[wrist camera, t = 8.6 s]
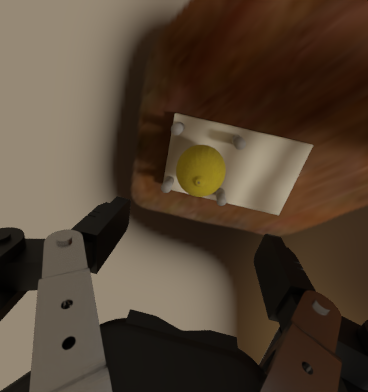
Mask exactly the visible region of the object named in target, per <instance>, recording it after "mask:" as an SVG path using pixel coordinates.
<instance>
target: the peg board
mask: <svg viewBox="0 0 368 392" xmlns="http://www.w3.org/2000/svg"><path fill="white" fill-rule="evenodd" d="M171 132H172V133H171V139H170V145H169V151H168V157H167V163H166V169H165V175H164V180H163V184H162V186H161V190H162V191H163V192H165V193H168V192H169V191H170V190H174V191H178V192H183V193H187V192H185V191H184V190H183V189H182V188H181V186H180V184H179V183H178V180H177V176H176V166H177V162H178V160H179V158H180V156H181V155H182V153H183V152H184V151H185V150H187V149H188V148H190V147H192V146H195V145H208V146H211V147H213V148H215V149H216V150H217V151H218V152H219V153H220V154H221V156H222V157H223V159H224V162H225V167H226V173H225V178H224V181H223V183H222V185H221V186H220V187H219V188H218V190H217V191H215V192H214V193H212V194H210V195H208V196H203V197H204V198H208V199H212V200H216V201H217V204H218V205H220V206H223V205H225V204H226V203H229V204H233V205H238V206H242V207H246V208H250V209H255V210H259V211H263V212H267V213H271V214H276V215H279V214H280V212H281V210H282V208H283V206H284V204H285V202H286V200H287V198H288V196H289V194H290V192H291V190H292V188H293V185H294V183H295V181H296V179H297V177H298V175H299V173H300V171H301V169H302V167H303V165H304V163H305V161H306V159H307V157H308V155H309V153H310V151H311V149H312V147H313V145H312V144H309V143H305V142H301V141H297V140H292V139H288V138H283V137H279V136H275V135H270V134H266V133H262V132H257V131H253V130H249V129H244V128H240V127H235V126H231V125H227V124H222V123H218V122H214V121H209V120H205V119H201V118H196V117H192V116H188V115H183V114H179V113H175V116H174V121H173V125H172V127H171ZM187 194H188V193H187Z"/></svg>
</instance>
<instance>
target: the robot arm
mask: <svg viewBox="0 0 368 392" xmlns="http://www.w3.org/2000/svg"><path fill="white" fill-rule="evenodd" d="M130 205H131V201H130V199H126V198H122V197H116V198H115V199H114V200H113V201H112V202H111V203H107V202H106V203H103V204H101V205H98V206H97V207H96V208H95V209H94V210H93V211H92V212H90V213H89V214H88V216H86V217H84V218H83V219H82V220H81V221H80V222H79V223H78V224H76V225H75V226H74V227H73V228H72V229H71V230H61V231H57V232H54V233H52V234H51V235H49V236H48V237H47V238H46V239H25V236H24V232H23V231H22V230H20V229H18V228H0V321H1V320H2V319H3V318H4V317H5V316H6V314H7V313H8V312H9V311H10V310H11V309H12V308H13V307H14V305H16V303H17V302H18V301H19V300H20V299H21V298H22V297H23V296H24V294H26V292H27V291H29V290H38V292H37V304H36V317H35V328H34V341H33V353H32V366H31V371H29V372H28V373H26V374H25V375H23V376H22V377H21V378H19V379H18V380H16V381H15V382H13V383H12V384H10V385H9V386H7V387H6V388H4V389H3V390H1V391H0V392H368V320H367V321H365V322H364V323H363V324H362V325H359V324H356V323H355V322H352V321H351V320H348V319H347V318H345V317H343V316H341V314H340V311H339V310H338V308H337V307H336V306H335V305H334V303H333V302H331V301H330V300H329V299H328V298H326V297H325V296H323V295H322V294H320V293H318V292H316V291H315V289H314V287H313V286H312V284H311V282H310V280H309V278H308V276H307V275H306V273H305V272H304V270H303V268H302V266H301V264H300V262H299V260H298V259H297V257H296V255H295V254H294V253H293V252H292V251H291V250H290V249H289V248H287V247H286V246H285V244H284V242H283V240H282V238H281V237H279V236H275V235H271V234H265V235H264V237H263V239H262V241H261V243H260V245H259V247H258V249H257V251H256V253H255V256H254V266H255V269H256V273H257V277H258V281H259V284H260V288H261V292H262V296H263V300H264V303H265V307H266V311H267V315H268V318H269V320H273V321H277V322H279V324H280V327H279V328H278V330H277V332H276V333H275V335H274V337H273V339H272V341H271V343H270V345H269V347H268V349H267V350H266V352H265V354H264V356H263V358H262V360H261V362H260V364H259V365H258V364H257V363H256V362H255V361H254V360H253V359H252V358H251V357H250V356H248V355H247V354H246V353H245V352H243V351H242V350H240V349H239V348H238V346H237V338H236V337H234V336H230V335H226V334H222V333H219V332H215V331H211V330H207V331H206V330H204V331H203V330H201V331H182V330H180V329H178V328H176V327H174V326H173V325H171V324H169V323H167V322H166V321H164V320H162V319H160V318H159V317H157V316H153V315H150V314H146V313H143V312H139V311H135V310H130V312H129V314H128V317H127V318H121V319H115V320H111V321H108V322H105V323H103V324H100V325H99V320H98V315H97V309H96V303H95V297H94V291H93V285H92V280H91V274H90V272H91V273H95V274H97V273H98V271H99V270H100V268H101V267H102V265H103V264H104V262H105V261H106V260H107V258H108V257H109V255H110V254H111V252H112V251H113V249H114V248H115V246H116V245H117V243H118V242H119V241H120V239H121V238H122V236H123V235H124V233H125V232H126V230H127V227H128V224H129V216H130Z"/></svg>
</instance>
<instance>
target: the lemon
mask: <svg viewBox="0 0 368 392" xmlns="http://www.w3.org/2000/svg"><path fill="white" fill-rule="evenodd" d="M225 173H226V167H225V162H224V159H223V157H222V156H221V154H220V153H219V152H218V151H217V150H216V149H215V148H213V147H211V146H208V145H195V146H192V147H190V148H188V149H187V150H185V151H184V152H183V153H182V155H181V156H180V158H179V160H178V162H177V166H176V176H177V180H178V183H179V184H180V186H181V188H182V189H183V190H184V191H185V192H187V193H188V194H190V195H193V196H197V197H203V196H208V195H210V194H212V193H214V192H215V191H217V190H218V188H219V187H220V186H221V185H222V183H223V181H224V178H225Z"/></svg>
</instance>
